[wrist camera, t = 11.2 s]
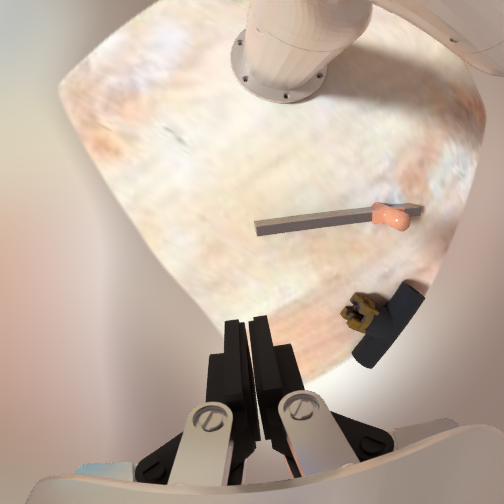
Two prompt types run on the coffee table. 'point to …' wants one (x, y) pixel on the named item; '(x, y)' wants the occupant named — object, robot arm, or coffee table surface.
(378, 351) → the pipe connector
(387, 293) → the coffee table surface
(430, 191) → the coffee table surface
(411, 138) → the coffee table surface
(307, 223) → the guide rail
